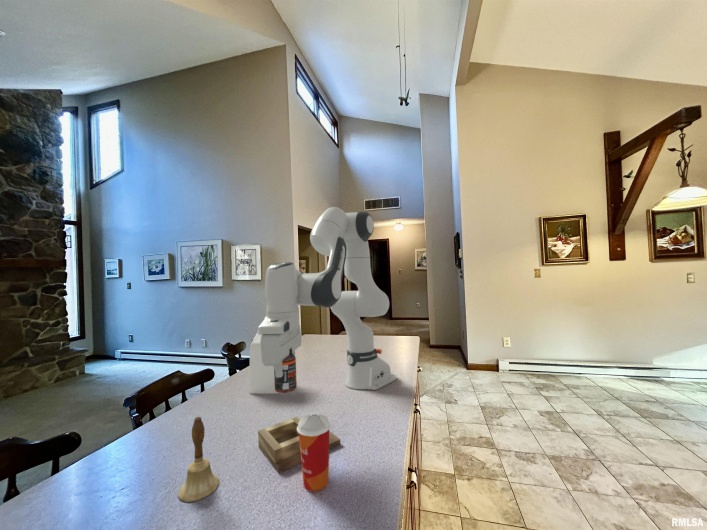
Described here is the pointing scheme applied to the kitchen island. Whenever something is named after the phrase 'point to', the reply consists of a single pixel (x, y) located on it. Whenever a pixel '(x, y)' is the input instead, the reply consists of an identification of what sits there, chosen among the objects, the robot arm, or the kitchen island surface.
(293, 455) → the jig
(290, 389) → the supplement bottle
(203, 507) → the kitchen island surface
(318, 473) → the paper cup
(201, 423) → the hand bell
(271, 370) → the milk
